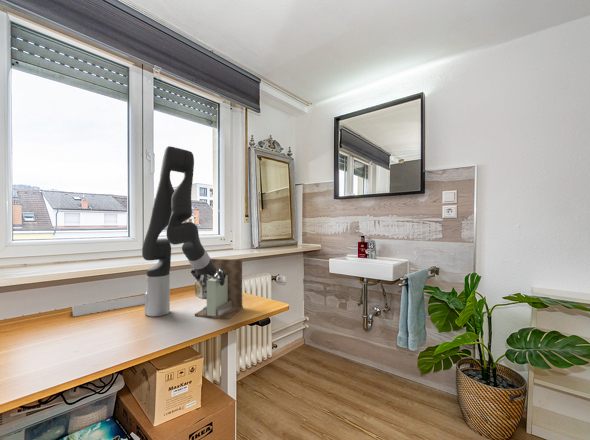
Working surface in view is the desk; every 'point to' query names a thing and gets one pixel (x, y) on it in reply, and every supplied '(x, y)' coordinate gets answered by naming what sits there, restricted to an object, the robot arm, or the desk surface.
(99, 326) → the desk surface
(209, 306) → the pale green rectangular block
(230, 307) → the wooden l-shaped stand
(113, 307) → the decorative molding
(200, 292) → the coffee box
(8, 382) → the desk surface
